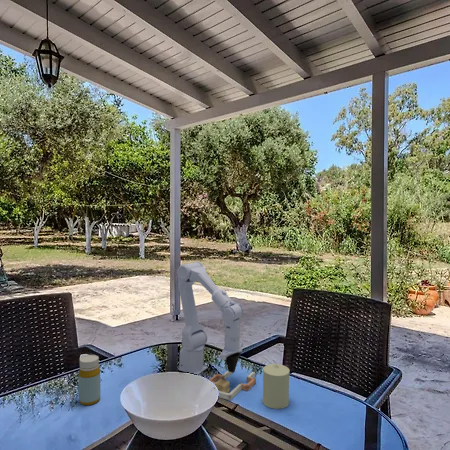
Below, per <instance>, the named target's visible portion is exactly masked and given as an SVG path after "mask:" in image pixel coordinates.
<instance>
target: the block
mask: <svg viewBox="0 0 450 450" xmlns="http://www.w3.org/2000/svg"><path fill="white" fill-rule="evenodd" d="M215 382H216V383H215V385H216V387H217V388H218V390H219V391H222V392H225V393H230V392H231V391H230V390H231V388H230V387H231V384H230V383H231V382H230V381H228V380H227V379H225V380H222V379H220V380H216V381H215Z"/></svg>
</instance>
